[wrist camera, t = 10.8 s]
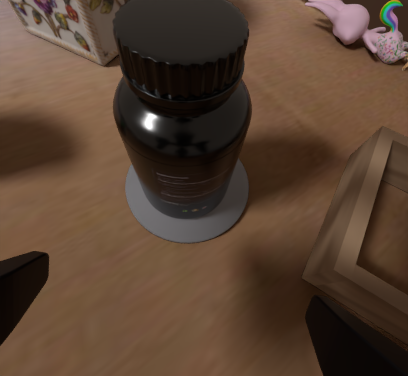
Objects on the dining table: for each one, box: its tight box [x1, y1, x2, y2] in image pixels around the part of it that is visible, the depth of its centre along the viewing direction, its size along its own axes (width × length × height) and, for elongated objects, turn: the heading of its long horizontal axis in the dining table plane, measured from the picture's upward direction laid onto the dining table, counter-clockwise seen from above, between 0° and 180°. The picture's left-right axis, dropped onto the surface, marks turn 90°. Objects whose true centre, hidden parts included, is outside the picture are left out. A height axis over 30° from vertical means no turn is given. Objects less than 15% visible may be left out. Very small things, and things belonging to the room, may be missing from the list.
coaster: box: [125, 158, 249, 243], centre depth 19 cm, size 10×10×1 cm
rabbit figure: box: [305, 0, 408, 70], centre depth 28 cm, size 6×6×15 cm
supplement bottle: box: [112, 0, 252, 219], centre depth 13 cm, size 7×7×12 cm
